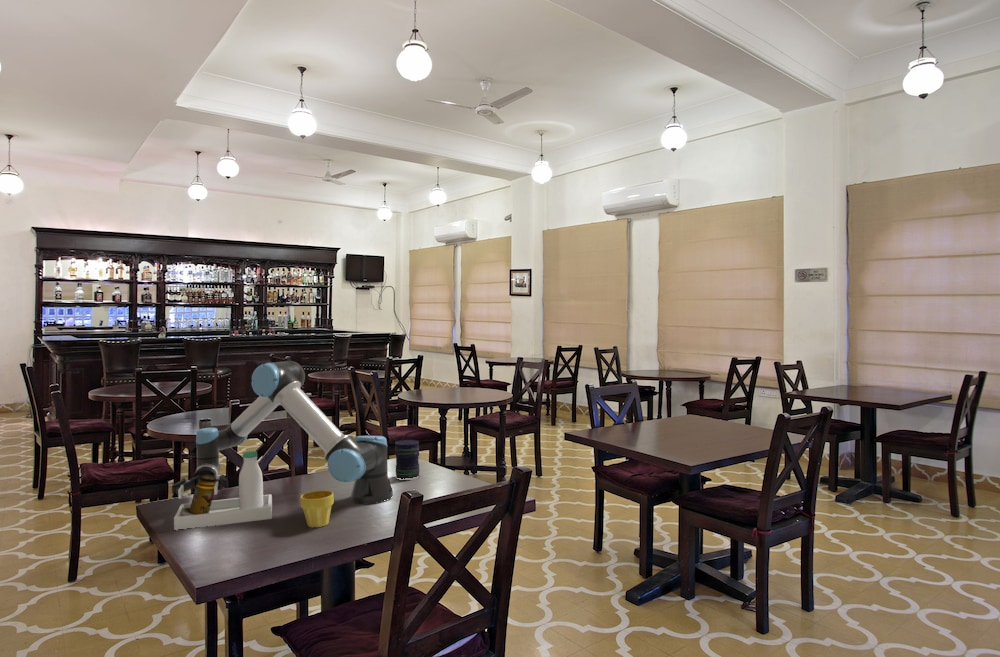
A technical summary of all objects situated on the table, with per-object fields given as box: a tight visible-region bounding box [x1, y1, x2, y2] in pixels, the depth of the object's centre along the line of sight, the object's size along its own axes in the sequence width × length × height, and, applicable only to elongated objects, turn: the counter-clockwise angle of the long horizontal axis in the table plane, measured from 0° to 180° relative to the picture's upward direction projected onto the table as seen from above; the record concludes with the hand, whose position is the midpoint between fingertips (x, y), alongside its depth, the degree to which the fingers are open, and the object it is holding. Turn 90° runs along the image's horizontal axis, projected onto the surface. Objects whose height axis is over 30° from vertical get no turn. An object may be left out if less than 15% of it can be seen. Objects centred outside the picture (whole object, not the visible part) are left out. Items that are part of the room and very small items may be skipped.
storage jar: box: [394, 439, 420, 479], centre depth 252 cm, size 10×10×15 cm
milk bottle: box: [238, 450, 264, 510], centre depth 210 cm, size 8×8×20 cm
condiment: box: [182, 475, 216, 515], centre depth 203 cm, size 7×8×12 cm
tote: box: [173, 493, 273, 531], centre depth 205 cm, size 29×16×4 cm, turn 110°
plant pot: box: [300, 489, 335, 528], centre depth 196 cm, size 10×10×10 cm
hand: (197, 492), depth 198 cm, fingers open, 10 cm apart
